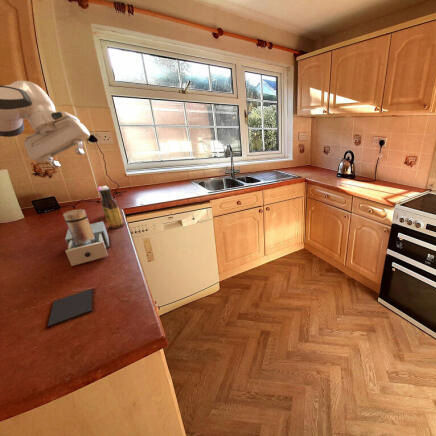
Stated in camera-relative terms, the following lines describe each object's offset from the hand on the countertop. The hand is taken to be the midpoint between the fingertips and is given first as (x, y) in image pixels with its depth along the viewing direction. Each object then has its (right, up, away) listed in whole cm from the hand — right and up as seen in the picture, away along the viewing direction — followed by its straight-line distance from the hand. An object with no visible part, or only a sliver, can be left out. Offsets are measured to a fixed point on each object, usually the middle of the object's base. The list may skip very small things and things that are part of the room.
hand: (68, 160), depth 86 cm
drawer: (0, -35, +10) cm, 36 cm away
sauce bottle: (-10, -25, +37) cm, 46 cm away
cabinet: (-7, -33, +19) cm, 38 cm away
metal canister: (0, -34, +9) cm, 35 cm away
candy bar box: (-23, -19, +53) cm, 61 cm away
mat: (+16, -46, -17) cm, 52 cm away
